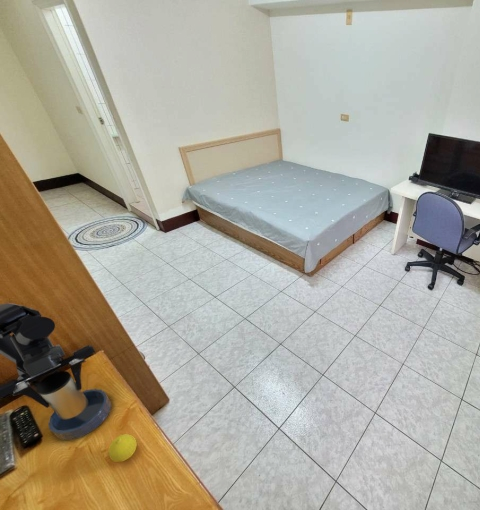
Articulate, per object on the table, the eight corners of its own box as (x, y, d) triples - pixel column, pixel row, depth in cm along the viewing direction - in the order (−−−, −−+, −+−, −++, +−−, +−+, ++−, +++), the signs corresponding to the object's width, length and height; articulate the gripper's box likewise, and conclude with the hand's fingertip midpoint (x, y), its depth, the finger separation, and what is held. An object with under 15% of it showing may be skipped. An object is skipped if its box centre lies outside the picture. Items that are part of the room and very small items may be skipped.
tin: (56, 408, 72) (34, 382, 66) (85, 393, 77) (67, 366, 70) (61, 424, 69) (38, 398, 63) (91, 407, 73) (72, 381, 67)
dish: (51, 418, 76) (44, 410, 74) (104, 388, 85) (100, 381, 82) (60, 450, 70) (53, 443, 68) (116, 415, 78) (112, 408, 76)
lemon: (127, 469, 68) (117, 455, 64) (109, 463, 68) (97, 449, 64) (145, 446, 72) (136, 431, 68) (128, 440, 73) (118, 426, 69)
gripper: (-34, 370, 56) (2, 432, 57) (79, 324, 69) (108, 374, 70) (-17, 371, 64) (15, 425, 64) (82, 329, 77) (108, 374, 78)
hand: (64, 398), depth 69 cm, fingers closed on tin, 6 cm apart
